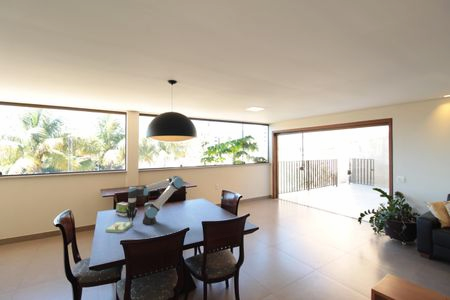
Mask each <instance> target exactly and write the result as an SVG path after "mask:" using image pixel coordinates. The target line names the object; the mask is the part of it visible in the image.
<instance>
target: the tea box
mask: <svg viewBox="0 0 450 300" xmlns="http://www.w3.org/2000/svg"><path fill="white" fill-rule="evenodd" d="M126 208H128V202H125V201H121V202H116V206H115V215H116V216H121V217H127V212H126ZM128 210H129V209H128Z"/></svg>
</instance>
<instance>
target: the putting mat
mask: <svg viewBox="0 0 450 300" xmlns="http://www.w3.org/2000/svg"><path fill="white" fill-rule="evenodd" d="M123 223H126V225H125V226H123V225H122V224H123ZM116 225H117V226H118V229H115V226H116ZM133 225H134V224H130V221H128V222H125V221H117V222H115V223H113V224H112V225H110V226H109V227H107V228H105V233H122V234H123V233H124V232H125V231H127V230H128V229H129V228H130V227H132V226H133Z"/></svg>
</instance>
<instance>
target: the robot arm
mask: <svg viewBox="0 0 450 300" xmlns="http://www.w3.org/2000/svg"><path fill="white" fill-rule="evenodd" d="M184 183H185V181H184V179H183V178H182V177H181V176H179V175H174V176H171V177H168V178H167V179H163V180H160V181H158V182H154V183H150V184H146V185H144V186H143V185H142V186H139V187H138V188H137V187H136V186H130V187H129V188H128V198H127V199H128V201H127V203H128V208H126V212H127V216H126V217H127V218H128V222H130V224H133V222H134V218H136V216H137V213H138V211H139V208H137V206H136V205H137V197H142V196H143V197H145V196H148V195H149V192H151V191H154V190H158V189H161V188H165V187H166V189H165V190H164V191H163V192H162V193H161V195H160V196H159V197H158V198H157V199H156V200H155V201H154V202H151V201H150V202H146V203H144V216H143V219H142V224H143V225H144V226H145V225H146V226H147V225H154V224H156V223H157V218H156V217H157V215H158V212H160V211H161V207H162V206H163V205H164V204H165V202H167V201H168V199H169V198H171V196H172V195H173V193H174V192H176V191H178V190H179V189H181V188H182V187H183V186H184ZM128 209H129V210H128ZM133 225H134V224H133Z"/></svg>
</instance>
